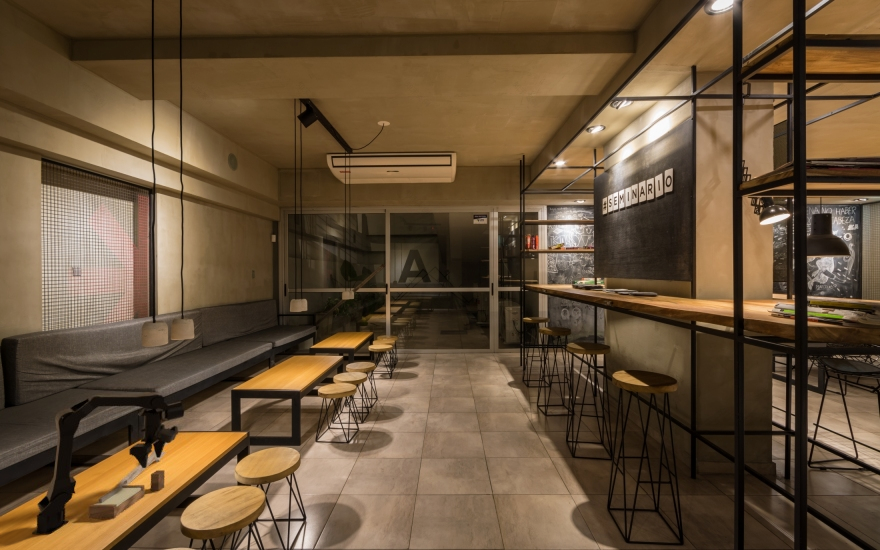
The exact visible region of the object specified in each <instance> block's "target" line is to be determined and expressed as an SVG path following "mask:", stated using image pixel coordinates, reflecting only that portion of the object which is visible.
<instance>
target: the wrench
mask: <svg viewBox="0 0 880 550" xmlns="http://www.w3.org/2000/svg"><path fill="white" fill-rule="evenodd" d="M166 445H168V443H165V445H164V446H166ZM165 454H166V451H162V453H161V456H160V458H157V456H156V453H155V450H152V452H151V453H150V454H149V455H148V461H147V466H146V468H142V466H141V465H140V464H138V465H137V466H136V467H135V468H134V469H133V470H131V471H130V472H129V473H128V474H127V475H126V476H124V477H123V478H122V479H120V481H119V482H118V485H117V487H118V486H122V485H130V483H131V482H132V481H133V480H135V478H137V476H139V475H141V474H142V472H143V471H144V470H146V469H147V468H148V467H150V465H151V464H152V463H153V462H155V463H158V462H161V458H163V457H164V455H165Z"/></svg>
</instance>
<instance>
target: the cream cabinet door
mask: <svg viewBox="0 0 880 550" xmlns="http://www.w3.org/2000/svg"><path fill="white" fill-rule="evenodd" d="M140 490H141V488H122V486H118V485H117V487H115V488H114V489H112V490H111V491H109V492H107V493H105V494H104V495H103V496H100V497H99V498H98V501H97V502H96V503H94V504H93V505H109V504H117V506H119V505H120V504H121V503H123V502H124V501H126V500H127V499H129V498H130V497H131V496H133V495H134V494H136V493H137V492H139V491H140Z"/></svg>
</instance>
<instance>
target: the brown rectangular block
mask: <svg viewBox="0 0 880 550" xmlns="http://www.w3.org/2000/svg"><path fill="white" fill-rule="evenodd" d="M165 473H166V472H165V470H161V469H160V470H155V471H153V472H152V473H151V474H150V492H151V491H152V493H153V491H159V492H160V491H161V490H163V489H164V488H165Z"/></svg>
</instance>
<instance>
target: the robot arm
mask: <svg viewBox="0 0 880 550" xmlns="http://www.w3.org/2000/svg"><path fill="white" fill-rule="evenodd" d="M99 407H139V408H142V410H141V411H140V412H138V413H137V415H138V416H140V417H141V418H142V417H144V420H143V421H144V422H143V427H142V428H141V429H140V430H141V432H143V438H141V440H140V442H141V443H136V444H134V445H133V446H131V447H130V449H129V451H128V452H129V456H132V457H134V458H135V459H136V460H137V462H138V464H139V465H141V466H142V468H145V469H147V468H146V466H147V461H148V457H149V456H150V455H151V454H152V452H153V451H154V450H155V453H156V456H157V458H160V456H161V453H162V452H164V451H163V450H164V447H165V446H166V445H165V443H167V444H169V443H171V442H172V441H174V440H175V439H176V436H177V435H179V427H178V426H175V425H173V426H172V427H168V428H166V427H165V423H164V424H163V423H162V419H163V420H165V421H166V422H168V421H173V420H177V419H181V418H183V417H184V415H185V410H184V406H183V401H175V402H173V403H166V402H165V398H164V396H163V395H162V394H159V393H158V392H155V391H153V392H145V393H141V394H133V395H132V394H131V395H130V394H127V395H125V394H124V395H123V394H115V395H114V394H113V395H111V394H109V395H108V394H107V395H106V394H92V395H90V396H89V397H87V398H86V399H84V400H81V401H80V402H78V403H75V404H73V405H71V406H70V407H69V408H65V409H62V410H60V411H58V413H56V414H55V419H54V420H55V427H56V431H57V432H56V433H57V443H56V445H57V446H56V453H55V454H56V455H55V461H54V470H53V473H54V474H53V477H52V479H51V482H50V483H49V485H48V489H47V492H46V495H45V496H44V497H43V498H42V499H41V500H40V501H38V503H37V504H36V505H37V507H38V509H39V513H38V514H37V516H36V529H35V530H33V531H32V532H31V534H32V535H43V534H44V535H45V534H53V533H54V532H55V531H58V529H60V528H62V527H63V526H65V525H66V524H68V523H69V519H66V505H67V503H68V502H70V501H71V499H72V498H73V495H74V494H76V491H75V487H76V484H77V480H76V479H75V478H74V476H70V474H71V465H72V455H73V449H74V437H75V434H76V433H77V431H78V429H79V426H80V423H81V420H83V419H85V418H86V417H88V415H90V414H91V413H92V412H93V411H95V409H97V408H99ZM152 449H154V450H152Z"/></svg>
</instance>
